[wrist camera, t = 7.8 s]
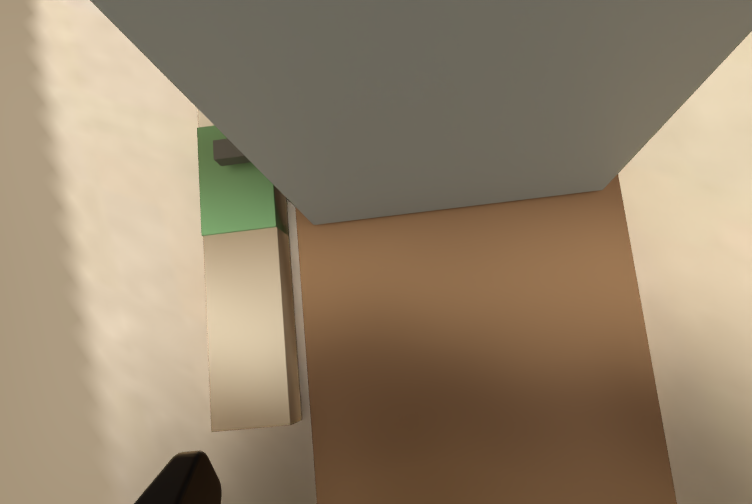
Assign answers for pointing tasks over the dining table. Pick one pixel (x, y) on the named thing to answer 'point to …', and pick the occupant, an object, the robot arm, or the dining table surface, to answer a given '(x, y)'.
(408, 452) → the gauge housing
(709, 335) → the dining table surface
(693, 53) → the gauge carriage
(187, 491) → the robot arm
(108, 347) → the dining table surface
